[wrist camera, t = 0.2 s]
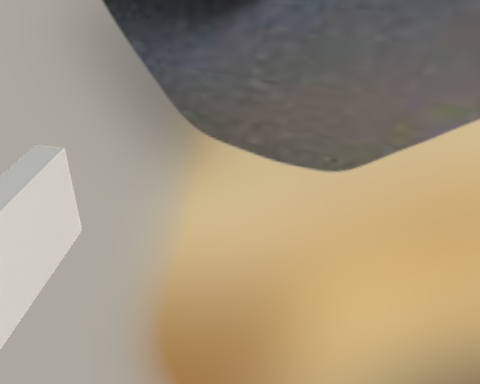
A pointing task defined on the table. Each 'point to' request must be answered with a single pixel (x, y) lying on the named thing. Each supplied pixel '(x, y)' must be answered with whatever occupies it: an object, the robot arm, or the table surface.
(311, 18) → the table surface
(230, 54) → the table surface
